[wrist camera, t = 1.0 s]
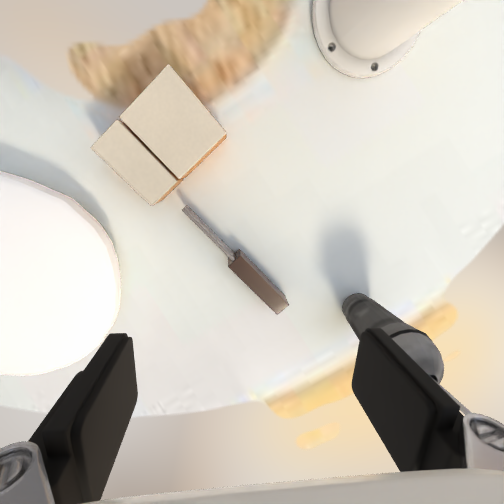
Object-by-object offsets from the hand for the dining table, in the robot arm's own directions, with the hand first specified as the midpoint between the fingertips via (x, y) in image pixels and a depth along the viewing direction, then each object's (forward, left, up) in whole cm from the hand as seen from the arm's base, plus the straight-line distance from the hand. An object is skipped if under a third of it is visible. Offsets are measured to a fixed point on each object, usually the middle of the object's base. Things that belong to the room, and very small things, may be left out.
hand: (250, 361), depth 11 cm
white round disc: (+25, -14, -26) cm, 39 cm away
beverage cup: (-5, +23, -26) cm, 35 cm away
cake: (-3, -12, -26) cm, 29 cm away
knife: (+3, +4, -26) cm, 27 cm away
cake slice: (+3, -12, -26) cm, 29 cm away
